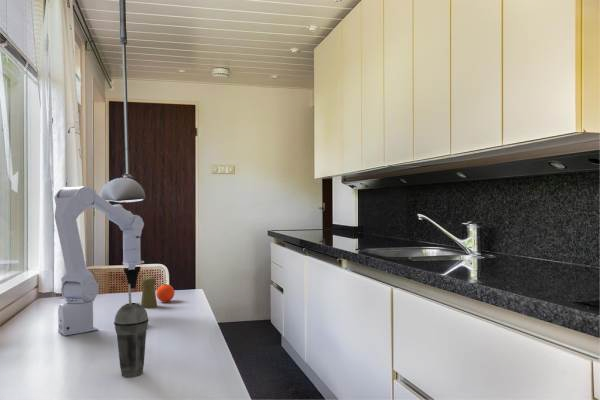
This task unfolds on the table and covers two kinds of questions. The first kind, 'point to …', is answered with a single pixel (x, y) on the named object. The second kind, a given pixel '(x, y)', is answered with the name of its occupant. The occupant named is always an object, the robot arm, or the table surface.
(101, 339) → the table surface
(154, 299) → the cork
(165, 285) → the clementine
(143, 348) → the beverage cup
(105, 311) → the table surface
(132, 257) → the robot arm
